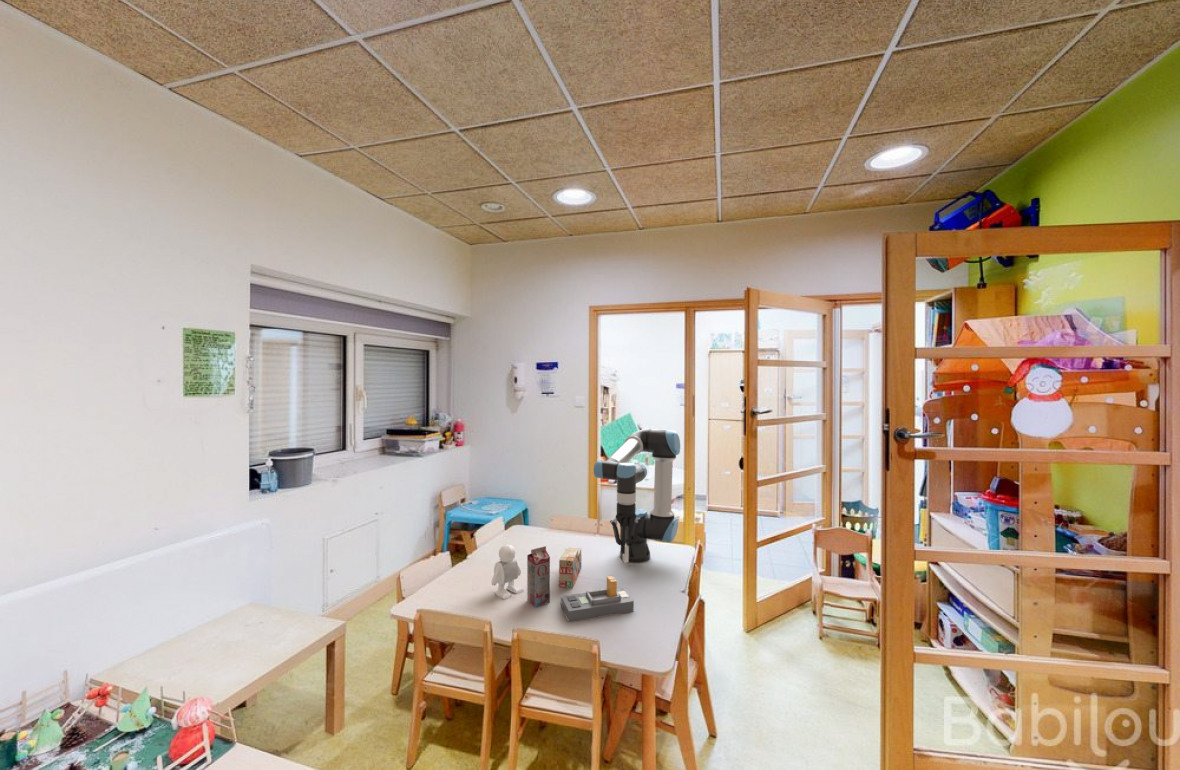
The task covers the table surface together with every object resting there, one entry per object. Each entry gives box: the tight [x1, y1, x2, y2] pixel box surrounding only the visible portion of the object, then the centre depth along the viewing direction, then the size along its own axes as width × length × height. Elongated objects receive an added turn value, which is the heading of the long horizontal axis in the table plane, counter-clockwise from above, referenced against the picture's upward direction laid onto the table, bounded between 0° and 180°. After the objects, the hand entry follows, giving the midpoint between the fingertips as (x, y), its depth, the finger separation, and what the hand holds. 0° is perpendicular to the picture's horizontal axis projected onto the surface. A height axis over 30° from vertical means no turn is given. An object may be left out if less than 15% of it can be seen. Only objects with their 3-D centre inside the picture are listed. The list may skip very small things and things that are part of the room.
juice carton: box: [526, 545, 551, 608], centre depth 184 cm, size 7×7×22 cm
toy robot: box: [491, 543, 524, 600], centre depth 192 cm, size 14×9×20 cm, turn 137°
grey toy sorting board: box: [560, 587, 635, 623], centre depth 179 cm, size 26×12×6 cm, turn 107°
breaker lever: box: [606, 575, 618, 597], centre depth 180 cm, size 2×5×7 cm, turn 17°
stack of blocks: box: [558, 547, 583, 589], centre depth 206 cm, size 21×6×12 cm, turn 171°
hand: (625, 561), depth 182 cm, fingers closed
